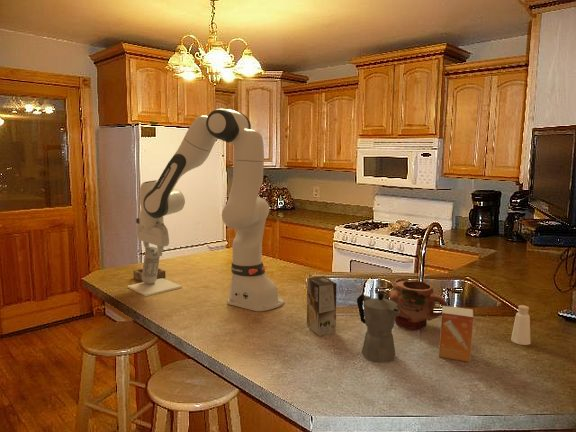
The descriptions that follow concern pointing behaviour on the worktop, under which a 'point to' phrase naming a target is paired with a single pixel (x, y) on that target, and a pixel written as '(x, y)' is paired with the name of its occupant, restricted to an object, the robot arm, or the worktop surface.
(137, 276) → the holder
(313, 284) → the coffee box
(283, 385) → the worktop surface
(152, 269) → the energy drink can
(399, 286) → the decorative planter
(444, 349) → the small box
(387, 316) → the coffeepot
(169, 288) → the tile
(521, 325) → the salt shaker
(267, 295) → the robot arm
